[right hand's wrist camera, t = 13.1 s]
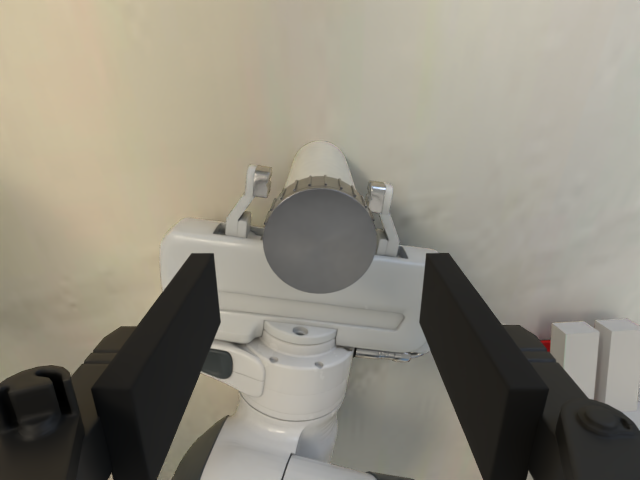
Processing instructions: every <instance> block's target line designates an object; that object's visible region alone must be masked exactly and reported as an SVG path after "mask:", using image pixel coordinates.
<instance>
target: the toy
mask: <svg viewBox="0 0 640 480" xmlns="http://www.w3.org/2000/svg"><path fill="white" fill-rule="evenodd" d="M541 342H542V344H543V345H544V346H545V347H546V348H547V352H550V353H551V354H552V356H553V357H554V358H555V359H556V362H558V363H559V364H560V365H561V366H562V367H563V369H564V370H565V371H566V372H567V373H568V374H569V376H570V377H571V378H572V379H573V380H574V382H575V383H576V384H577V385H578V386H579V388H580V389H581V390H582V391H583V392H584V393H585V395H586V396H587V397H588V398H589V399H593V400H596V401H599V402H602V403H605V404H608V405H610V406H612V407H613V408H615V409H617V410H619V411H621V412H622V413H624V414H625V415H626V416H627V417H628V418H630V419H631V420H632V421H633V422H634V423H635V424H636V426H637V427H638V429H639V430H640V402H639V401H638V393H639V385H640V326H639V325H638V324H636V323H634V322H632V321H631V320H629V319H627V318H624V319H607V320H595V326H594V328H593V327H592V326H590V325H589V324H587V323H586V322H584V321H573V322H556V323H552V327H551V340H543V341H541ZM527 480H533V478H532V476H531V474H530V472H528V476H527Z"/></svg>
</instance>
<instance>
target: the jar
mask: <svg viewBox="0 0 640 480" xmlns="http://www.w3.org/2000/svg"><path fill="white" fill-rule="evenodd" d="M310 175H311V176H312V177H313V176H324V175H326V176H327V177H332V178H336V179H339V178H340V179H341V181H343V182H345V183H347V184H349V185H350V186H351V185H353V186H354V189H355V190H356V188H355V185H354V182H353V179H352V176H351V173H350V170H349V167H348V164H347V161H346V158H345V156H344V154H343V152H342V151H341V150H340V149H339V148H338V147H337V146H335V145H334V144H332V143H329V142H326V141H314V142H310V143H308V144H306V145H304V146H303V147H302V148H301V149H300V150H299V151H298V152H297V154H296V155H295V157H294V160H293V163H292V166H291V169H290V172H289V175H288V178H287V181H286V184H285V188H287V187H288V186H289V185H291V184H293V183H294V182H295V180H301V179H304V178H307V177H309V176H310Z"/></svg>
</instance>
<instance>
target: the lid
mask: <svg viewBox="0 0 640 480" xmlns="http://www.w3.org/2000/svg"><path fill="white" fill-rule="evenodd" d="M373 221H374V218H373V215H372V213H371V210H370V207H369V208H368V207H367V204H366V202H365V199H364V196H363V195H362V196H361V195H360V194H359V193H358V192H357V191H356V190H355V189H354V186H353V185H351V186H350V185H349V184H347V183H345V182H343V181H341V179H340V178H339V179H336V178H332V177H327V176H326V175H324V176H313V177H312V176H311V175H310V176H309V177H307V178H304V179H301V180H295V182H294V183H293V184H291V185H289V186H288V187H287V188H285V187H284V188H283V190H282V193H281V194H280V195H279V196H278V197H277V199H276V198H275V199H274V201H273V204H272V206H271V209H270V211H269V212H268V215H267V217H266V220H265V222H264V225H265V228H264V233H263V237H262V239H263V249H264V253H265V257H266V259H267V262H268V264H269V266H270V267H271V269H272V270H273V272H274V273H275V274H276V275H277V276H278V277H279V278H280V279H281V280H282V281H283V282H285V283H286V284H288V285H289V286H291V287H293V288H295V289H297V290H300V291H303V292H307V293H314V294H326V293H333V292H337V291H340V290H342V289H345V288H347V287H349V286H351V285H352V284H354V283H355V282H356V281H358V280H359V279H360V278H361V277H362V276H363V275H364V274H365V272H366V271H367V270H368V268H369V267H370V265H371V263H372V261H373V259H374V255H375V252H376V246H377V236H376V235H377V231H376V229H375V226H374V223H373Z"/></svg>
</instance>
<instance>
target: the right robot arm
mask: <svg viewBox="0 0 640 480" xmlns="http://www.w3.org/2000/svg"><path fill="white" fill-rule="evenodd" d="M220 323H221V319H220V309H219V299H218V289H217V279H216V269H215V259H214V253H191V254H190V256H189V257H188V258H187V260H186V261H185V262H184V264H183V265H182V266H181V268H180V269H179V271H178V272H177V273H176V275H175V276H174V277H173V279H172V280H171V281H170V283H169V284H168V285H167V287H166V288H165V289H164V291H163V292H162V293H161V295H160V296H159V297H158V299H157V300H156V302H155V303H154V304H153V306H152V307H151V308H150V310H149V311H148V312H147V314H146V315H145V316H144V318H143V319H142V320H141V322H140V323H139V324H138V326H121V327H119V328H118V329H116V330H115V331H113V332H112V333H110V334H109V335H107V336H106V337H104V338H103V339H102V341H101V342H100V343H99V344H98V345H97V347H96V348H95V349H94V350H93V353H91V354H90V355H89V356H88V357H87V359H86V360H85V361H84V364H82V365H81V366H80V367H79V368H78V369H77V370H76V372H75V373H74V374H73V375H72V376H70V373H69V371H67V370H66V369H65V368H63V367H59V366H53V365H50V366H40V367H35V368H32V369H28V370H25V371H22V372H20V373H17V374H15V375H13V376H11V377H9V378H7V379H6V380H4V381H3V382H1V383H0V480H108V478H109V476H110V474H111V472H112V476H113V480H157V478H158V475H159V473H160V470H161V468H162V465H163V463H164V461H165V458H166V456H167V453H168V451H169V448H170V446H171V443H172V441H173V439H174V436H175V434H176V431H177V429H178V426H179V424H180V421H181V419H182V416H183V414H184V412H185V409H186V407H187V404H188V402H189V399H190V397H191V394H192V392H193V390H194V387H195V385H196V382H197V380H198V377H199V375H200V372H201V370H202V368H203V365H204V363H205V360H206V358H207V355H208V353H209V350H210V348H211V345H212V343H213V341H214V338H215V336H216V333H217V331H218V328H219V326H220ZM419 323H420V326H421V328H422V331H423V333H424V336H425V338H426V341H427V343H428V345H429V348H430V350H431V353H432V355H433V358H434V360H435V363H436V365H437V368H438V370H439V372H440V375H441V377H442V380H443V382H444V385H445V387H446V390H447V392H448V394H449V397H450V399H451V402H452V404H453V407H454V409H455V412H456V414H457V416H458V419H459V421H460V424H461V426H462V429H463V431H464V434H465V436H466V439H467V441H468V443H469V446H470V448H471V451H472V453H473V456H474V458H475V461H476V463H477V465H478V468H479V470H480V473H481V475H482V478H483V480H527V476H528V472H530V474H531V476H532V478H533V480H640V430H639V429H638V427H637V426H636V424H635V423H634V422H633V421H632V420H631V419H630V418H628V417H627V416H626V415H625V414H624V413H622V412H621V411H619V410H617V409H615V408H613V407H612V406H610V405H608V404H605V403H602V402H599V401H596V400H593V399H589V398H588V397H587V396H586V395H585V393H584V392H583V391H582V390H581V389H580V388H579V386H578V385H577V384H576V383H575V382H574V380H573V379H572V378H571V377H570V376H569V374H568V373H567V372H566V371H565V370H564V369H563V367H562V366H561V365H560V364H559V363H558V362H556V359H555V358H554V357H553V356H552V354H551V353H550V352H547V348H546V347H545V346H544V345H543V344H542V342H541V341H540V340H539V339H538V338H537V337H536V336H535V335H534V334H532V333H531V332H529V331H527V330H526V329H524V328H523V327H521V326H520V325H502V324H501V323H500V322H499V320H498V319H497V318H496V316H495V315H494V314H493V312H492V311H491V310H490V308H489V307H488V306H487V304H486V303H485V302H484V300H483V299H482V297H481V296H480V295H479V293H478V292H477V291H476V289H475V288H474V287H473V285H472V284H471V283H470V281H469V280H468V279H467V277H466V276H465V275H464V273H463V272H462V271H461V269H460V268H459V266H458V265H457V264H456V262H455V261H454V260H453V258H452V257H451V256H450V254H449V253H426V259H425V269H424V279H423V289H422V299H421V309H420V319H419Z"/></svg>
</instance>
